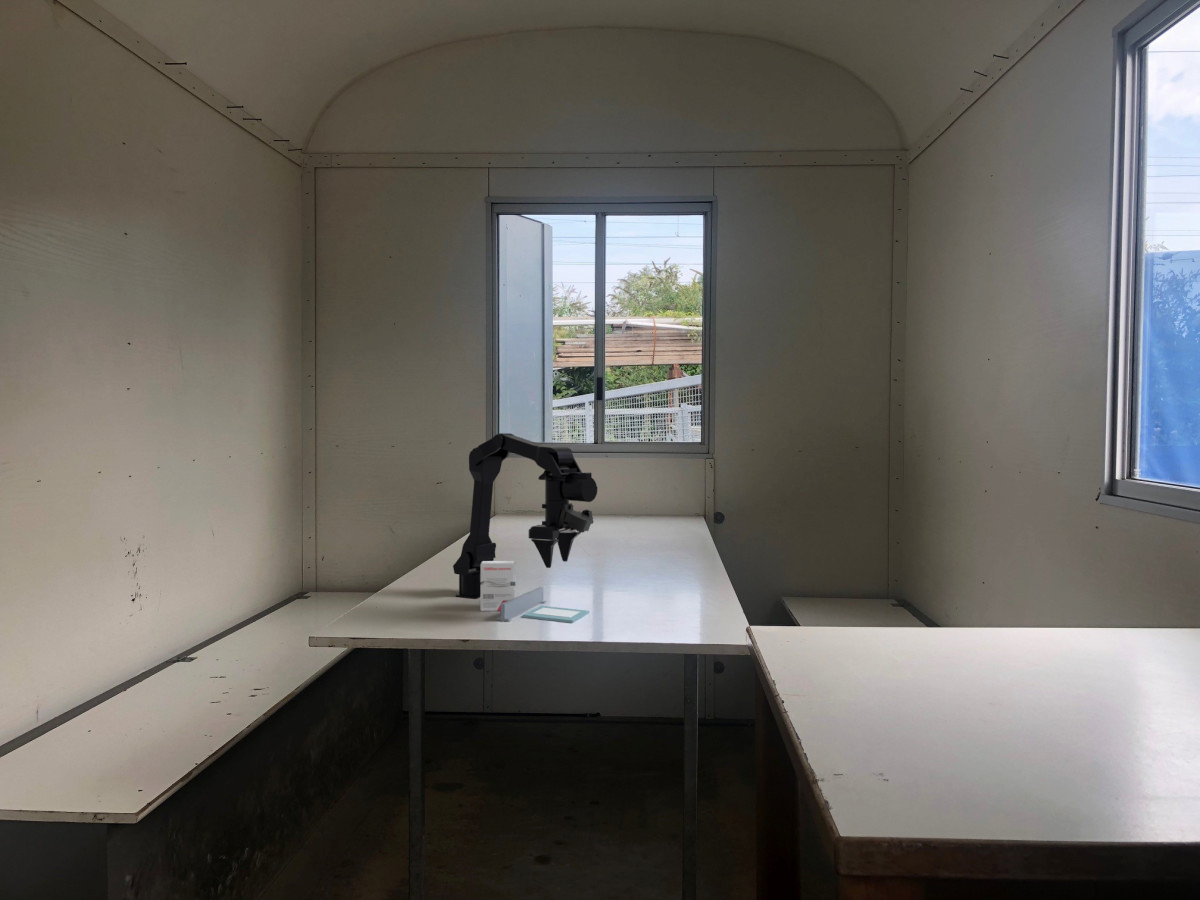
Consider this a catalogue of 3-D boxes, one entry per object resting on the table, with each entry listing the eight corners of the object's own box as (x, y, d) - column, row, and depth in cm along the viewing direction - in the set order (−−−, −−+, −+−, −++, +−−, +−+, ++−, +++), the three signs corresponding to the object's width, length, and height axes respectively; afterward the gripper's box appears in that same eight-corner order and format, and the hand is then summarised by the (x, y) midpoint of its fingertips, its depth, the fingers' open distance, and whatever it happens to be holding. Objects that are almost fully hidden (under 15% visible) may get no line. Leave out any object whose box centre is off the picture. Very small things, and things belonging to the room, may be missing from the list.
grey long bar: (497, 620, 174) (497, 603, 174) (536, 602, 193) (536, 586, 193) (508, 621, 173) (508, 604, 173) (546, 603, 192) (546, 587, 191)
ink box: (515, 606, 188) (515, 559, 188) (515, 611, 183) (515, 563, 183) (481, 606, 188) (481, 560, 187) (480, 611, 183) (480, 563, 182)
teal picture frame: (522, 617, 177) (522, 614, 177) (541, 608, 187) (541, 605, 187) (572, 623, 172) (572, 620, 172) (589, 613, 182) (589, 610, 182)
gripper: (571, 504, 167) (571, 573, 167) (602, 497, 184) (602, 560, 185) (527, 502, 171) (527, 570, 172) (561, 495, 188) (561, 557, 189)
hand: (556, 564), depth 179 cm, fingers open, 9 cm apart
